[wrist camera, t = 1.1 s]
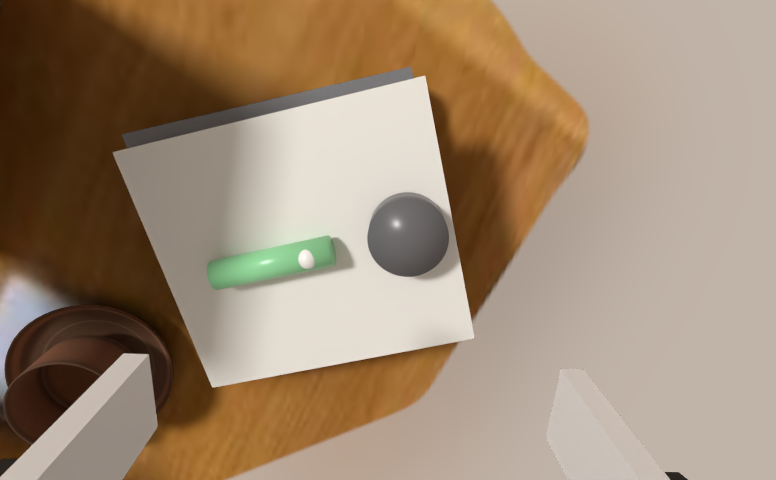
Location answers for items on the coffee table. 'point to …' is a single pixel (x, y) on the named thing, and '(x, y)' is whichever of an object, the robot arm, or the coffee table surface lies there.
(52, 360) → the cup and saucer
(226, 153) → the level plate
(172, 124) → the level base
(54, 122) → the coffee table surface
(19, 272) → the coffee table surface
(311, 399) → the coffee table surface
